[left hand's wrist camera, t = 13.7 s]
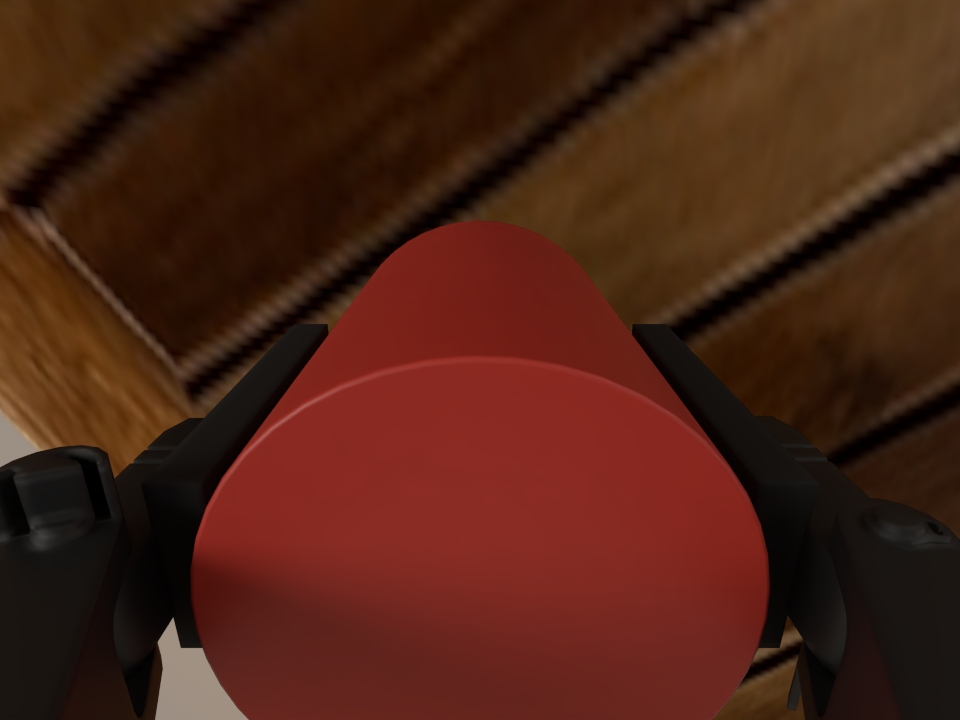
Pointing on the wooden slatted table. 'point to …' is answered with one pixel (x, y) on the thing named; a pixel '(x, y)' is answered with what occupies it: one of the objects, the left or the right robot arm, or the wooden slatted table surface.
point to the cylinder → (480, 512)
